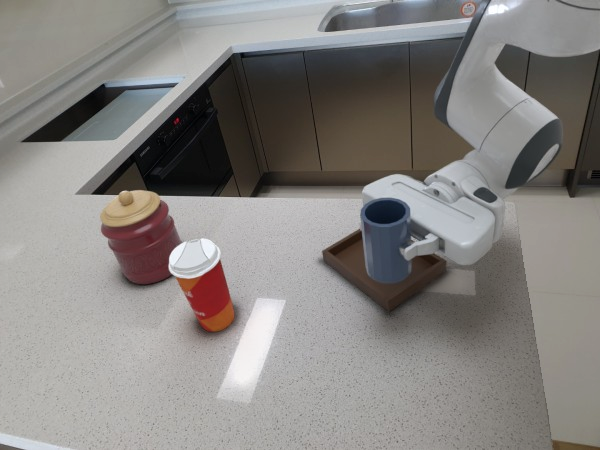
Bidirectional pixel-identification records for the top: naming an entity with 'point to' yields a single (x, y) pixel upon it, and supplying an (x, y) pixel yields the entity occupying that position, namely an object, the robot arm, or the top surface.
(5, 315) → the top surface
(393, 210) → the tumbler
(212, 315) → the coffee cup
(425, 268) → the tray
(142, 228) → the kitchen canister
